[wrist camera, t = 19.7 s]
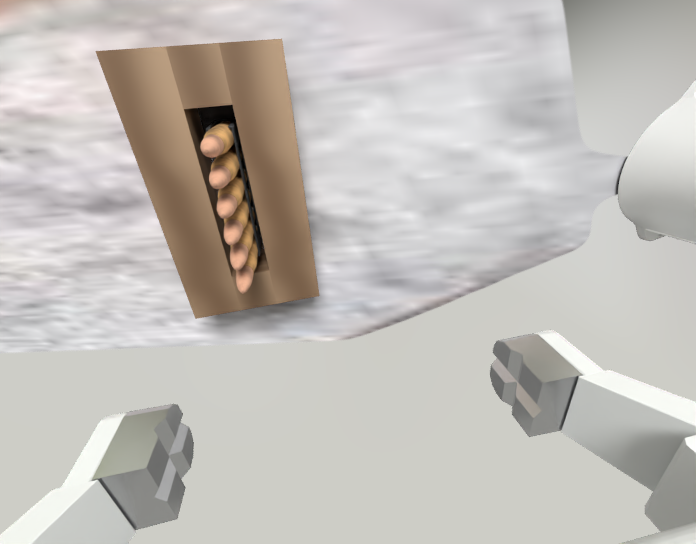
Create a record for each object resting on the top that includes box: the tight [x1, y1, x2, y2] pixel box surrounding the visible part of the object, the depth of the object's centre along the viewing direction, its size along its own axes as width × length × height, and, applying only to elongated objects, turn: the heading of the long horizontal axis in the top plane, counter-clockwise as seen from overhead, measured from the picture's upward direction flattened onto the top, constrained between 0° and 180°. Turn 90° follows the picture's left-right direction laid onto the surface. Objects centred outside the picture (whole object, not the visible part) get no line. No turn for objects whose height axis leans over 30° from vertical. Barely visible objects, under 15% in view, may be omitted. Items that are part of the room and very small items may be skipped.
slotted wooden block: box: [96, 39, 319, 318], centre depth 28 cm, size 11×20×5 cm, turn 5°
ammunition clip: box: [201, 118, 261, 294], centre depth 25 cm, size 11×2×12 cm, turn 4°
